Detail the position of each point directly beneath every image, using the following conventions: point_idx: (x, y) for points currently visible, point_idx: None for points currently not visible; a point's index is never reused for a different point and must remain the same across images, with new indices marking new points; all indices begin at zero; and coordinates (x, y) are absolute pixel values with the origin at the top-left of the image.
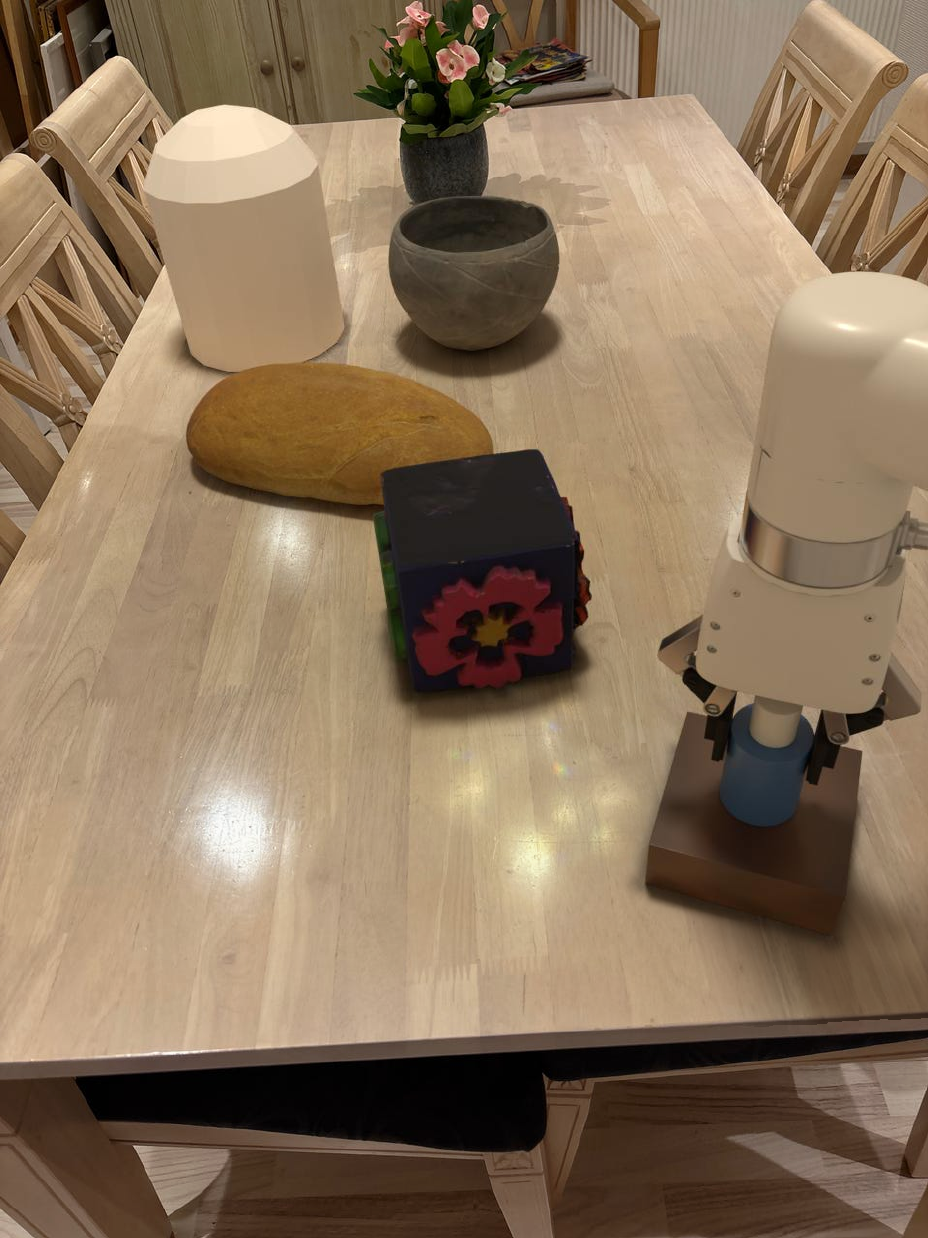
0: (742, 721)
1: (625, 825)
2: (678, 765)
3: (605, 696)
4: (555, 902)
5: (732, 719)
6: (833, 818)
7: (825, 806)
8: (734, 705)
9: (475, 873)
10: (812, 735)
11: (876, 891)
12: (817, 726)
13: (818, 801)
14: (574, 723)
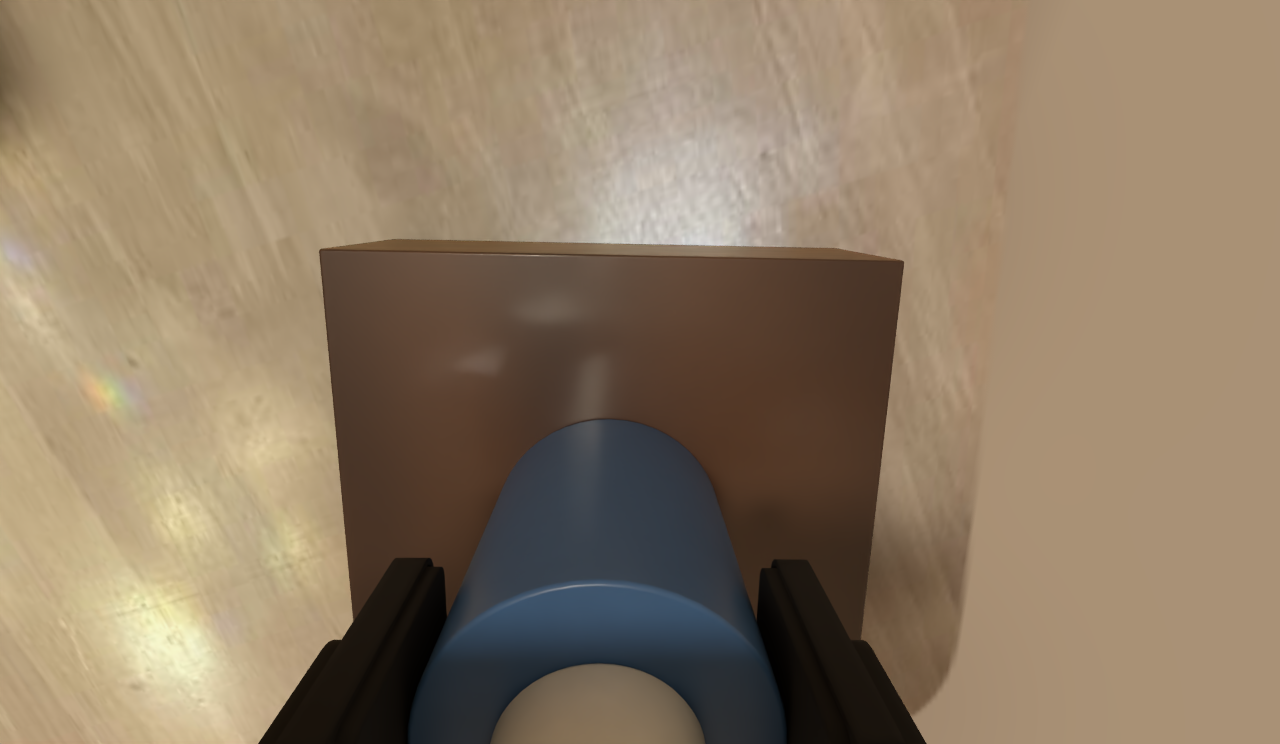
0: (455, 736)
1: (330, 507)
2: (360, 485)
3: (104, 81)
4: (260, 720)
5: (408, 735)
6: (818, 539)
7: (795, 507)
8: (386, 714)
9: (71, 710)
10: (778, 726)
11: (890, 509)
12: (802, 718)
13: (775, 493)
14: (67, 222)
